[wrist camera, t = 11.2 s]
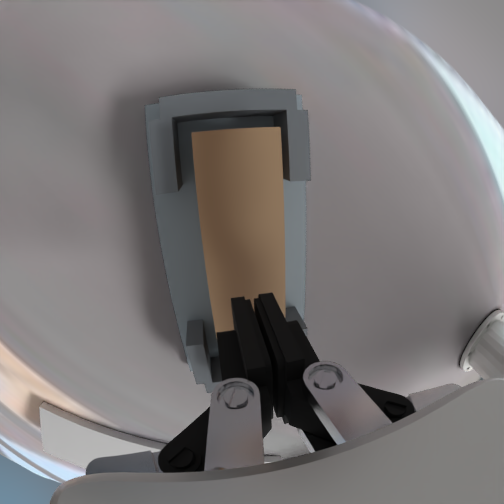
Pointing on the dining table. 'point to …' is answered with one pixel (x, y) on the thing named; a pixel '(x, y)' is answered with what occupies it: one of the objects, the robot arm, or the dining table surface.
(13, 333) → the dining table surface
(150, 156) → the board
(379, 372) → the dining table surface
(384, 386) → the dining table surface
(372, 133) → the dining table surface
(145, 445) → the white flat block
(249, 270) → the slat
